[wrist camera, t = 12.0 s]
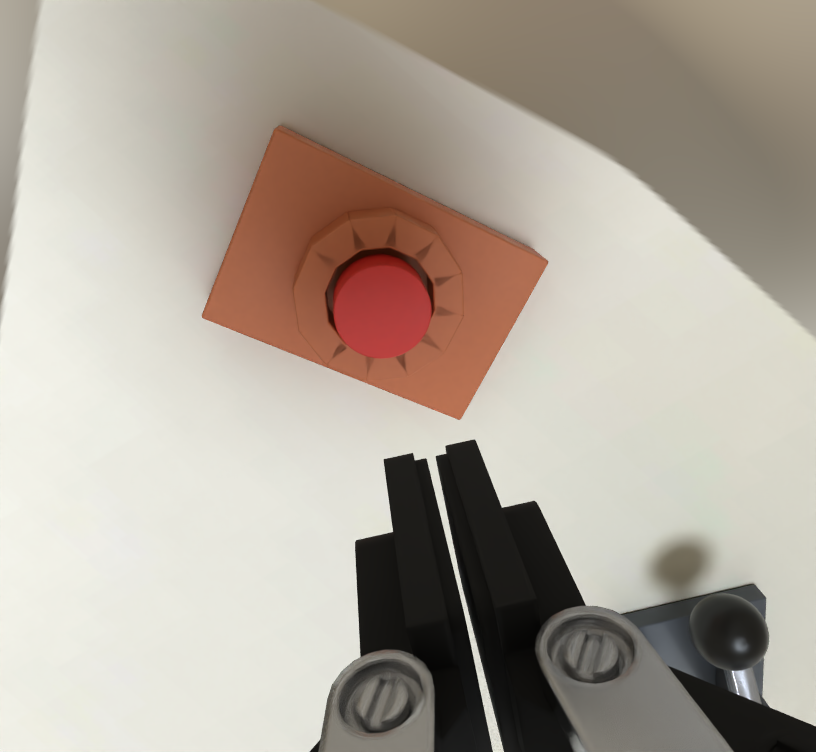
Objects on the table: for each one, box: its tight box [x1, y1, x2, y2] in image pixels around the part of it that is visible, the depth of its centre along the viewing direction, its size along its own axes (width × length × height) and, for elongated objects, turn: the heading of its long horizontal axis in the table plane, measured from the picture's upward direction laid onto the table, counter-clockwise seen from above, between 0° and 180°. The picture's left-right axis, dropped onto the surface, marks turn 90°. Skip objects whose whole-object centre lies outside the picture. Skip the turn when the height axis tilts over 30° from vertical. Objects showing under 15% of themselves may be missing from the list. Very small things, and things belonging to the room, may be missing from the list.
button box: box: [202, 125, 548, 420], centre depth 27 cm, size 12×8×4 cm, turn 64°
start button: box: [333, 254, 432, 359], centre depth 25 cm, size 4×4×2 cm
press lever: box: [689, 593, 769, 704], centre depth 33 cm, size 13×4×4 cm
